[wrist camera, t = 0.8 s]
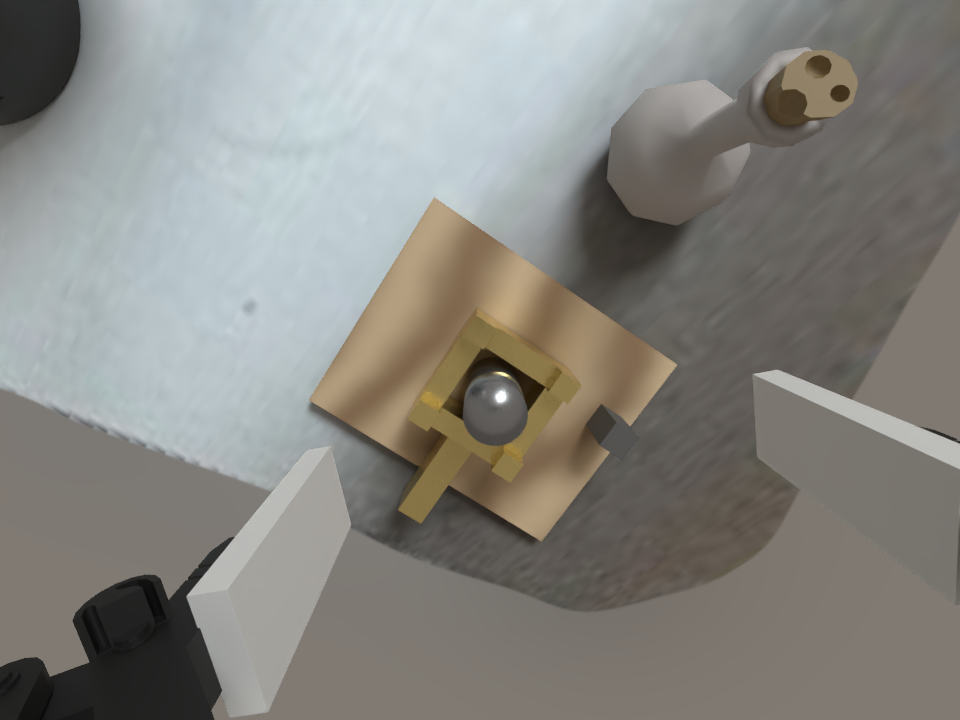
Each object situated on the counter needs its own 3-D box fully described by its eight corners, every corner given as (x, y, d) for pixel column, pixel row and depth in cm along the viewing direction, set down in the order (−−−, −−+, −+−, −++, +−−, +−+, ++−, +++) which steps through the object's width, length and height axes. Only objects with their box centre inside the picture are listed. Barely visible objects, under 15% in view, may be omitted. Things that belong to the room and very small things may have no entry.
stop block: (585, 423, 39) (599, 445, 35) (601, 403, 39) (616, 422, 34) (606, 437, 39) (622, 460, 35) (621, 417, 39) (639, 437, 35)
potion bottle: (641, 250, 37) (787, 249, 20) (572, 150, 36) (664, 53, 18) (741, 175, 36) (990, 103, 19) (674, 68, 35) (876, -120, 17)
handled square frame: (476, 307, 37) (476, 315, 32) (569, 368, 38) (581, 385, 33) (370, 467, 39) (355, 496, 35) (459, 520, 40) (456, 555, 36)
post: (456, 385, 39) (450, 423, 31) (484, 344, 39) (486, 371, 30) (498, 411, 40) (503, 457, 31) (526, 371, 39) (540, 406, 30)
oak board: (313, 395, 40) (309, 400, 38) (435, 199, 36) (434, 197, 35) (539, 533, 42) (541, 541, 41) (671, 361, 39) (677, 364, 38)
